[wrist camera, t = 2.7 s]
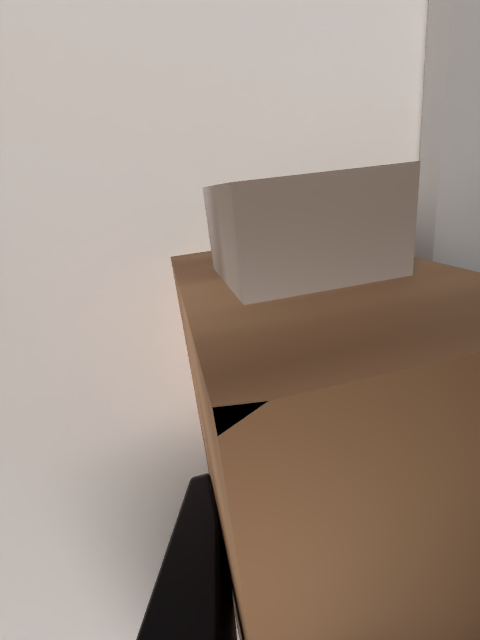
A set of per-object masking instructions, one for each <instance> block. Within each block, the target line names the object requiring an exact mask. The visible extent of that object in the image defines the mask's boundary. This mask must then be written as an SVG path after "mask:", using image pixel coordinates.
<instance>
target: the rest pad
mask: <svg viewBox="0 0 480 640" xmlns="http://www.w3.org/2000/svg"><path fill="white" fill-rule="evenodd" d="M419 161H421V163H420V178H419V192H418V207H417V221H416V236H415V250H414V257H416V258H420V259H424V260H429V261H433V262H437V263H442V264H446V265H450V266H454V267H459V268H463V269H467V270H472V271H476V272H480V0H428V17H427V35H426V52H425V70H424V87H423V105H422V122H421V140H420V158H419Z"/></svg>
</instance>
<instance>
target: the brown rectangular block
mask: <svg viewBox="0 0 480 640" xmlns="http://www.w3.org/2000/svg"><path fill="white" fill-rule="evenodd" d="M420 163H421V161H416V162H407V163H398V164H390V165H381V166H372V167H363V168H354V169H345V170H336V171H328V172H319V173H310V174H301V175H292V176H283V177H274V178H266V179H257V180H248V181H239V182H230V183H225V184H219V185H214V186H208V187H203V193H204V201H205V208H206V215H207V223H208V230H209V237H210V244H211V251H207V252H200V253H194V254H187V255H180V256H173V257H171V262H172V267H173V273H174V279H175V284H176V290H177V295H178V301H179V306H180V312H181V318H182V323H183V329H184V334H185V340H186V346H187V351H188V357H189V362H190V368H191V374H192V379H193V385H194V390H195V396H196V402H197V407H198V413H199V418H200V424H201V430H202V435H203V441H204V446H205V452H206V458H207V463H208V469H209V474H210V477H211V482H212V487H213V492H214V497H215V502H216V507H217V511H218V517H219V522H220V527H221V532H222V537H223V542H224V547H225V553H226V558H227V563H228V569H229V574H230V580H231V585H232V592H233V601H234V611H235V617H236V622H237V628H238V633H239V638H240V640H480V272H476V271H472V270H467V269H463V268H459V267H454V266H450V265H446V264H442V263H437V262H433V261H429V260H424V259H420V258H416V257H414V250H415V236H416V221H417V207H418V192H419V178H420ZM264 401H268V402H266V403H265V404H264V405H262V406H261V407H259V408H258V409H256V410H255V411H253V412H252V413H251V414H249V415H248V416H246V417H245V418H243V419H242V420H241V421H239V422H238V423H236V424H235V425H233V426H232V427H231V428H229V429H228V430H226V431H225V432H223V433H222V434H220V435H219V436H218V437H217V431H216V426H215V420H214V415H213V410H212V407H220V406H229V405H238V404H246V403H255V402H264Z"/></svg>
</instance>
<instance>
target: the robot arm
mask: <svg viewBox="0 0 480 640" xmlns="http://www.w3.org/2000/svg"><path fill="white" fill-rule="evenodd" d="M136 640H237V634H236V623H235V611H234V601H233V592H232V585H231V580H230V574H229V569H228V563H227V558H226V553H225V547H224V542H223V537H222V532H221V527H220V522H219V517H218V511H217V507H216V502H215V497H214V492H213V487H212V482H211V477H210V475H209V474H203V475H200V476H196V477H193V478H192V479H191V480H190V482H189V485H188V488H187V491H186V494H185V497H184V500H183V503H182V506H181V509H180V512H179V515H178V518H177V521H176V524H175V526H174V529H173V532H172V535H171V538H170V541H169V544H168V547H167V550H166V553H165V556H164V559H163V562H162V565H161V568H160V571H159V574H158V577H157V580H156V583H155V586H154V589H153V592H152V595H151V597H150V600H149V603H148V606H147V609H146V612H145V615H144V618H143V621H142V624H141V627H140V630H139V633H138V636H137V639H136Z"/></svg>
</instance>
